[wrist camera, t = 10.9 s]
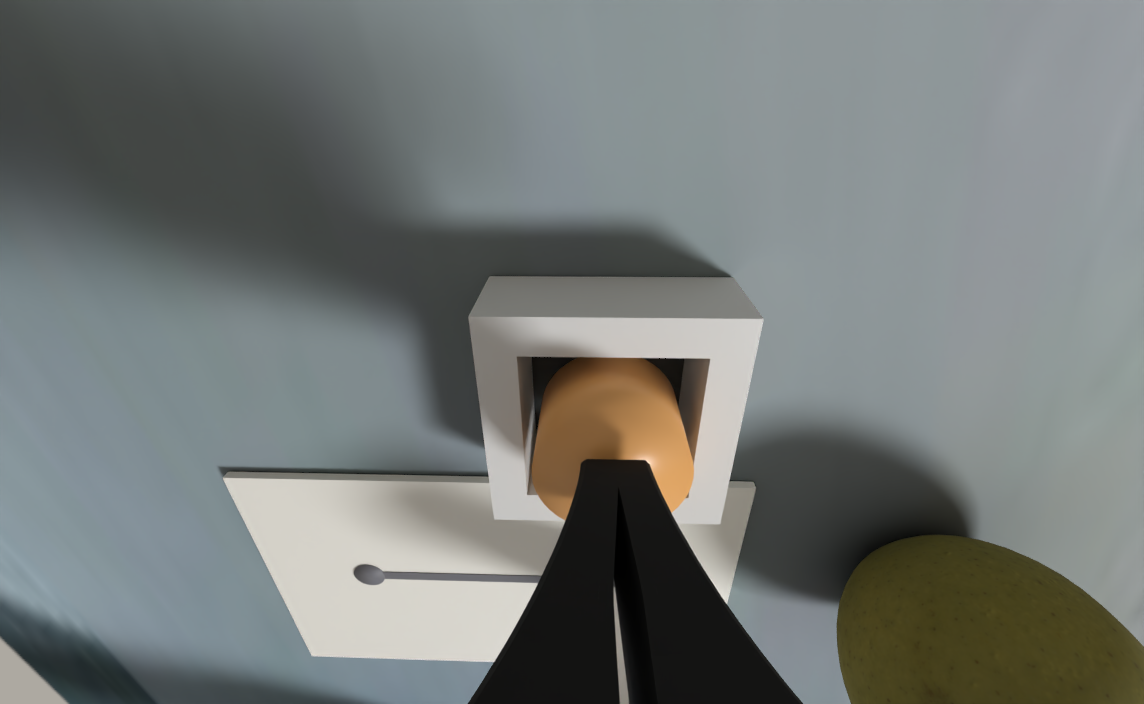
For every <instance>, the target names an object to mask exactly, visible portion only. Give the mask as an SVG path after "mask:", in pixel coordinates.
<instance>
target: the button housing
mask: <svg viewBox="0 0 1144 704" xmlns="http://www.w3.org/2000/svg"><path fill="white" fill-rule="evenodd" d="M468 318H469V326H470V334H471V342H472V350H473V358H474V365H475V373H476V381H477V389H478V397H479V405H480V413H481V420H482V428H483V436H484V444H485V452H486V460H487V467H488V475H489V483H490V491H491V499H492V507H493V514H494V519H495V520H540V521H565V520H563V519H562V518H560V517H558V516H557V515H555V514H554V513H553V512H552V511H550V510H549V509H548V508H547V507H546V506H545V505H544V503H543V502H542V501H541V499H540V498H539V496H538V494H537V492H536V491H535V488H534V485H533V480H532V463H533V457H534V450H535V444H536V437H537V436H536V424H535V407H534V390H533V372H532V357H608V358H684V366H683V374H682V382H681V390H680V397H679V405H678V408H679V411H680V415H681V419H682V423H683V426H684V430H685V434H686V437H687V441H688V445H689V449H690V452H691V456H692V460H693V465H694V478H693V482H692V486H691V488H690V491H689V493H688V495H687V496H686V498H685V499H684V501H683V502H682V503H681V504H680V505H679V507H678V508H676V509H675V510H674V511H673V512H672V515H673V517H674V519H675V521H676V522H677V524H720V523H721V518H722V514H723V509H724V504H725V499H726V495H727V490H728V485H729V480H730V476H731V471H732V466H733V462H734V457H735V452H736V447H737V443H738V438H739V433H740V429H741V424H742V419H743V414H744V410H745V405H746V400H747V395H748V391H749V386H750V381H751V377H752V372H753V367H754V362H755V358H756V353H757V348H758V344H759V339H760V334H761V329H762V325H763V320H764V319H763V317H762V316H761V315H760V313H759V312H758V310H757V309H756V308H755V306H754V305H753V304H752V302H751V301H750V299H749V298H748V297H747V295H746V294H745V293H744V291H743V290H742V288H741V287H740V286H739V284H738V283H737V282H736V280H735V279H734V278H733V277H553V276H489V278H488V280H487V282H486V284H485V286H484V287H483V289H482V291H481V293H480V295H479V297H478V299H477V301H476V303H475V305H474V307H473V309H472V310H471V312H470V314H469V316H468Z"/></svg>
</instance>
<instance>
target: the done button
mask: <svg viewBox="0 0 1144 704" xmlns="http://www.w3.org/2000/svg"><path fill="white" fill-rule="evenodd" d="M586 459H618V460H646V461H647V462H648V463H649V464H650V466H651V469H652V472H653V474H654V477H655V479H656V482H657V484H658V486H659V488H660V491H661V493H662V495H663V497H664V499H665V501H666V503H667V505H668V507H669V509H670V511H671V513H672V512H673V511H674V510H675V509H676V508H678V507H679V505H680V504H681V503H682V502H683V501H684V499H685V498H686V496H687V495H688V493H689V491H690V488H691V486H692V482H693V478H694V465H693V460H692V456H691V452H690V449H689V445H688V441H687V437H686V434H685V430H684V426H683V423H682V419H681V415H680V411H679V408H678V404H677V400H676V397H675V393H674V390H673V387H672V385H671V383H670V381H669V380H668V378H667V377H666V376H665V374H664V373H663V372H662V371H661V370H660V369H659V368H657V367H656V366H655V365H654V364H652V363H650V362H649V361H647V360H645V359H643V358H608V357H579V358H576V359H574V360H572V361H571V362H569V363H567V364H566V365H564V366H563V367H562V368H560V369H559V370H558V371H557V372H556V373H555V374H554V376H553V377H552V378H551V379H550V381H549V383H548V384H547V386H546V388H545V391H544V394H543V399H542V404H541V411H540V417H539V424H538V430H537V437H536V444H535V450H534V457H533V463H532V480H533V485H534V488H535V491H536V492H537V494H538V496H539V498H540V499H541V501H542V502H543V503H544V505H545V506H546V507H547V508H548V509H549V510H550V511H552V512H553V513H554V514H555V515H557V516H558V517H560V518H562V519H563V520H566V518H567V515H568V512H569V509H570V506H571V503H572V500H573V497H574V494H575V490H576V487H577V483H578V478H579V473H580V466H581V462H583V461H584V460H586Z"/></svg>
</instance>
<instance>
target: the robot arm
mask: <svg viewBox="0 0 1144 704" xmlns="http://www.w3.org/2000/svg"><path fill="white" fill-rule="evenodd" d="M614 584H615V592H616V601H617V609H618V617H619V625H620V633H621V641H622V649H623V657H624V665H625V673H626V681H627V689H628V698H629V704H803V703H802V702H801V701H800V699H799V698H798V697H797V696H796V695H795V694H794V692H793V691H792V690H791V689H790V688H789V686H788V685H787V684H786V683H785V682H784V680H783V679H782V678H781V676H780V675H779V674H778V673H777V671H776V670H775V669H774V667H773V666H772V665H771V664H770V662H769V661H768V660H767V659H766V657H765V656H764V655H763V653H762V652H761V651H760V650H759V648H758V647H757V646H756V644H755V643H754V641H753V640H752V639H751V637H750V636H749V635H748V633H747V632H746V631H745V629H744V628H743V627H742V625H741V624H740V622H739V621H738V620H737V618H736V617H735V615H734V614H733V613H732V611H731V610H730V608H729V607H728V605H727V604H726V602H725V601H724V599H723V598H722V597H721V595H720V594H719V592H718V590H717V589H716V587H715V586H714V584H713V583H712V581H711V580H710V578H709V577H708V575H707V574H706V572H705V570H704V569H703V567H702V565H701V564H700V562H699V561H698V559H697V557H696V556H695V554H694V552H693V551H692V549H691V547H690V545H689V544H688V542H687V540H686V538H685V537H684V535H683V533H682V531H681V530H680V528H679V526H678V524H677V522H676V521H675V519H674V517H673V515H672V513H671V511H670V509H669V507H668V505H667V503H666V501H665V499H664V497H663V495H662V493H661V491H660V488H659V486H658V484H657V482H656V479H655V477H654V474H653V472H652V469H651V466H650V464H649V463H648V462H647V461H646V460H618V459H586V460H584V461H583V462H581V466H580V473H579V478H578V483H577V487H576V490H575V494H574V497H573V500H572V503H571V506H570V509H569V512H568V515H567V518H566V520H565V523H564V525H563V528H562V531H561V533H560V536H559V538H558V541H557V543H556V546H555V548H554V550H553V552H552V555H551V557H550V559H549V561H548V563H547V565H546V567H545V570H544V572H543V574H542V576H541V578H540V580H539V582H538V585H537V587H536V589H535V591H534V592H533V594H532V596H531V598H530V600H529V602H528V604H527V606H526V608H525V610H524V612H523V613H522V615H521V617H520V619H519V621H518V622H517V624H516V626H515V628H514V630H513V631H512V633H511V635H510V637H509V638H508V640H507V642H506V643H505V645H504V647H503V648H502V650H501V652H500V653H499V655H498V657H497V658H496V660H495V662H494V663H493V665H492V667H491V668H490V670H489V671H488V673H487V675H486V676H485V678H484V680H483V681H482V683H481V684H480V686H479V687H478V689H477V690H476V692H475V694H474V695H473V697H472V698H471V700H470V701H469V703H468V704H620V696H619V681H618V665H617V650H616V633H615V616H614Z"/></svg>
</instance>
